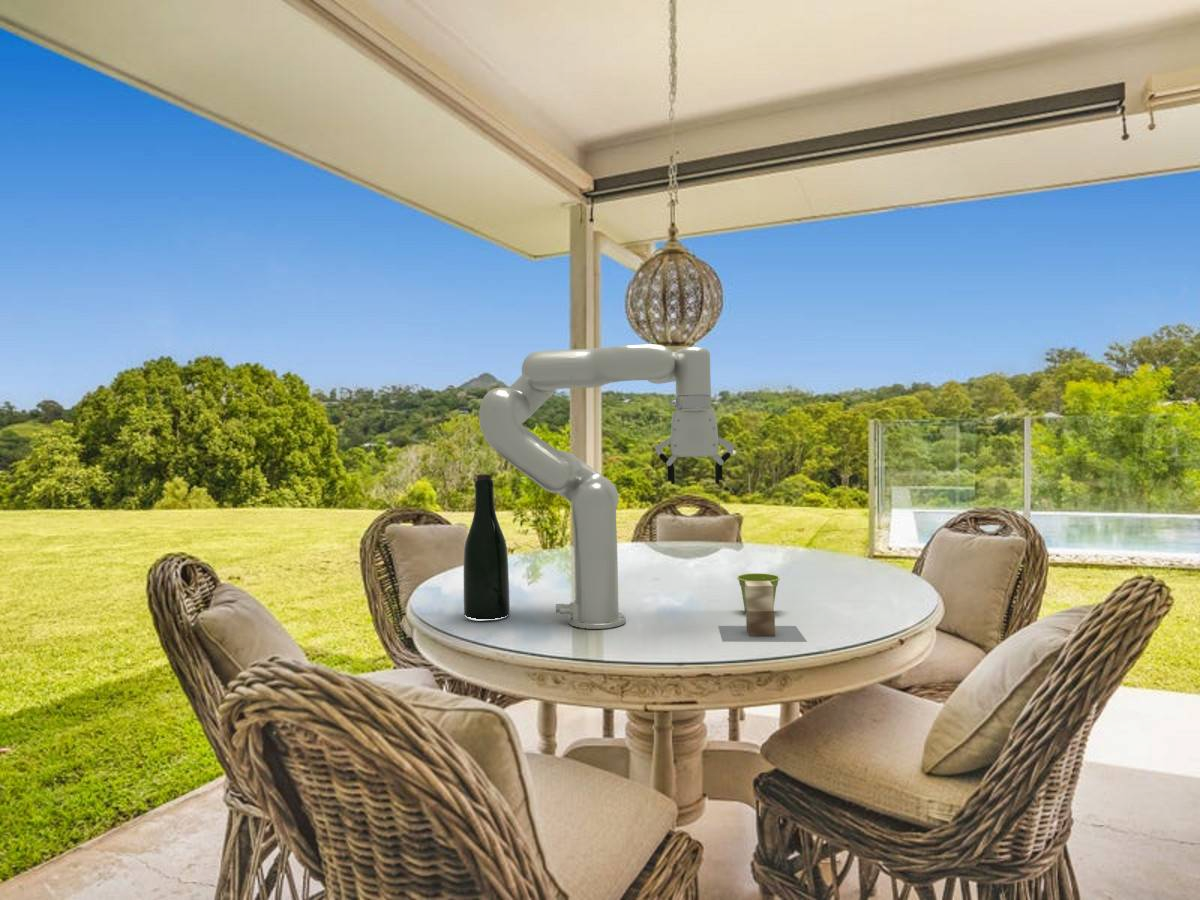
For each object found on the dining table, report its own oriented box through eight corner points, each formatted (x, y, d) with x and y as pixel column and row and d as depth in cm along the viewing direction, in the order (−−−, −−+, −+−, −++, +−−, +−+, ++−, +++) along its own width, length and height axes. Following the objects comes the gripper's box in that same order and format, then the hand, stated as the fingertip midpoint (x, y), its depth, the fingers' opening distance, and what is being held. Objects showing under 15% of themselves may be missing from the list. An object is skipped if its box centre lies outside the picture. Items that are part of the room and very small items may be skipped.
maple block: (748, 611, 142) (747, 586, 142) (745, 605, 147) (744, 581, 147) (773, 611, 142) (773, 585, 142) (770, 605, 147) (769, 581, 147)
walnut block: (749, 636, 142) (748, 611, 142) (746, 630, 147) (746, 605, 147) (775, 636, 142) (774, 611, 142) (771, 630, 147) (770, 605, 147)
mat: (722, 644, 139) (722, 641, 139) (718, 628, 151) (718, 625, 151) (807, 644, 138) (807, 641, 138) (795, 628, 150) (795, 625, 150)
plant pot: (781, 620, 157) (780, 581, 157) (737, 619, 159) (736, 580, 159) (779, 611, 166) (778, 573, 166) (738, 610, 168) (737, 572, 168)
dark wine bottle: (472, 611, 172) (469, 473, 172) (515, 612, 170) (512, 473, 170) (457, 622, 162) (454, 475, 162) (502, 623, 160) (499, 474, 160)
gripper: (653, 405, 154) (654, 485, 154) (735, 403, 152) (737, 484, 152) (653, 406, 161) (655, 483, 161) (732, 404, 159) (733, 482, 159)
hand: (695, 483), depth 157 cm, fingers open, 9 cm apart
